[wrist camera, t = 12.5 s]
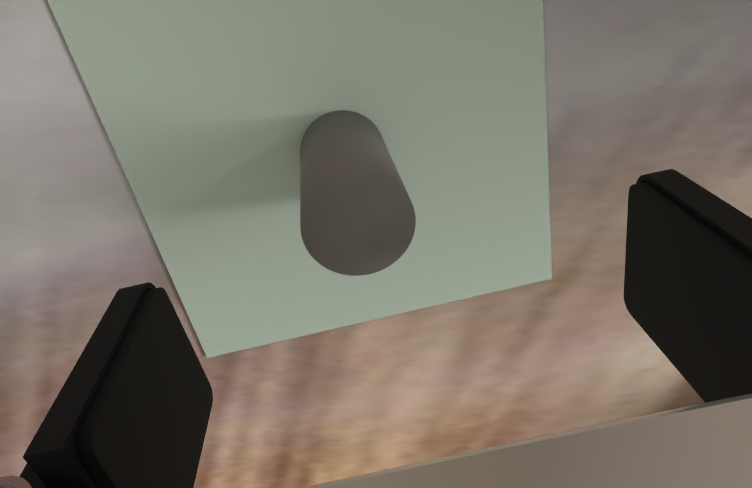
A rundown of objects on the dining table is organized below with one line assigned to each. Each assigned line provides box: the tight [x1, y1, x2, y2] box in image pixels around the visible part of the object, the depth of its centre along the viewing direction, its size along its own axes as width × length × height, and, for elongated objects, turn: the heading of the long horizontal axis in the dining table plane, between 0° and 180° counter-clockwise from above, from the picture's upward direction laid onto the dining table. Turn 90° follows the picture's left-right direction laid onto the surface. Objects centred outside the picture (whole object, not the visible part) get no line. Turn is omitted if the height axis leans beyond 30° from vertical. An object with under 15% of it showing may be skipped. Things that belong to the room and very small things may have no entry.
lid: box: [47, 0, 552, 358], centre depth 17 cm, size 15×15×7 cm
